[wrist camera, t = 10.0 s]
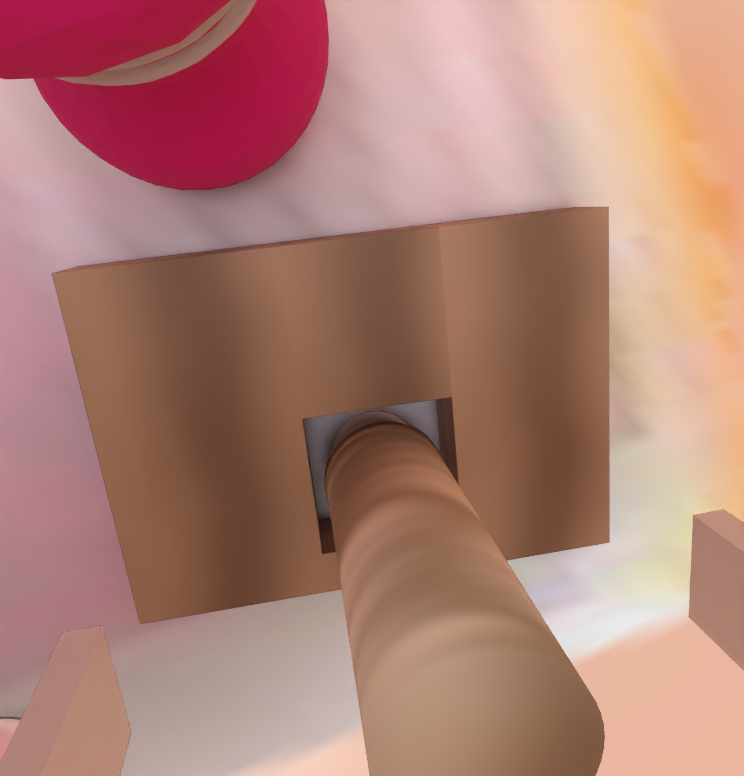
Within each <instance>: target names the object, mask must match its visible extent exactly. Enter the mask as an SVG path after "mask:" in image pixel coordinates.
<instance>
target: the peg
mask: <svg viewBox="0 0 744 776" xmlns="http://www.w3.org/2000/svg"><path fill="white" fill-rule="evenodd" d="M324 483H325V493H326V498H327V503H328V505H329V509H330V515H331V522H332V529H333V535H334V542H335V549H336V555H337V562H338V568H339V575H340V582H341V588H342V595H343V602H344V608H345V615H346V621H347V628H348V635H349V641H350V648H351V655H352V661H353V668H354V674H355V681H356V688H357V694H358V701H359V708H360V714H361V721H362V727H363V734H364V741H365V747H366V754H367V760H368V767H369V774H370V776H595V775H596V773H597V771H598V768H599V765H600V762H601V759H602V754H603V750H604V738H605V735H604V724H603V720H602V717H601V712H600V710H599V708H598V706H597V703H596V701H595V700H594V698H593V696H592V695H591V693H590V692H589V690H588V689H587V687H586V685H585V684H584V682H583V681H582V679H581V677H580V676H579V674H578V673H577V671H576V670H575V668H574V666H573V665H572V663H571V662H570V660H569V659H568V657H567V655H566V654H565V652H564V651H563V649H562V648H561V646H560V644H559V643H558V641H557V640H556V638H555V636H554V635H553V633H552V632H551V630H550V629H549V627H548V625H547V624H546V622H545V621H544V619H543V618H542V616H541V614H540V613H539V611H538V610H537V608H536V607H535V605H534V603H533V602H532V600H531V599H530V597H529V595H528V594H527V592H526V591H525V589H524V588H523V586H522V584H521V583H520V581H519V580H518V578H517V577H516V575H515V573H514V572H513V570H512V569H511V567H510V566H509V564H508V562H507V561H506V559H505V558H504V556H503V554H502V553H501V551H500V550H499V548H498V547H497V545H496V543H495V542H494V540H493V539H492V537H491V536H490V534H489V532H488V531H487V529H486V528H485V526H484V525H483V523H482V521H481V520H480V518H479V517H478V515H477V513H476V512H475V510H474V509H473V507H472V506H471V504H470V502H469V501H468V499H467V498H466V496H465V495H464V493H463V491H462V490H461V488H460V487H459V485H458V483H457V482H456V480H455V479H454V477H453V476H452V474H451V472H450V471H449V469H448V468H447V466H446V465H445V462H444V460H443V458H442V455H441V454H440V452H439V451H438V449H437V448H436V446H435V445H434V443H433V442H432V441H431V440H430V438H429V437H428V436H426V435H425V434H424V433H423V432H421V431H420V430H418V429H417V428H414V427H412V426H410V425H407V424H406V423H405V422H404V421H403V420H402V419H400V418H399V417H397V416H395V415H393V414H390V413H387V412H380V411H373V412H367V413H363V414H360V415H358V416H356V417H354V418H352V419H351V420H349V421H348V422H347V423H346V424H345V425H344V426H343V427H342V428H341V429H340V431H339V432H338V434H337V436H336V438H335V441H334V444H333V451H332V454H331V456H330V458H329V460H328V463H327V466H326V470H325V478H324Z"/></svg>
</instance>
